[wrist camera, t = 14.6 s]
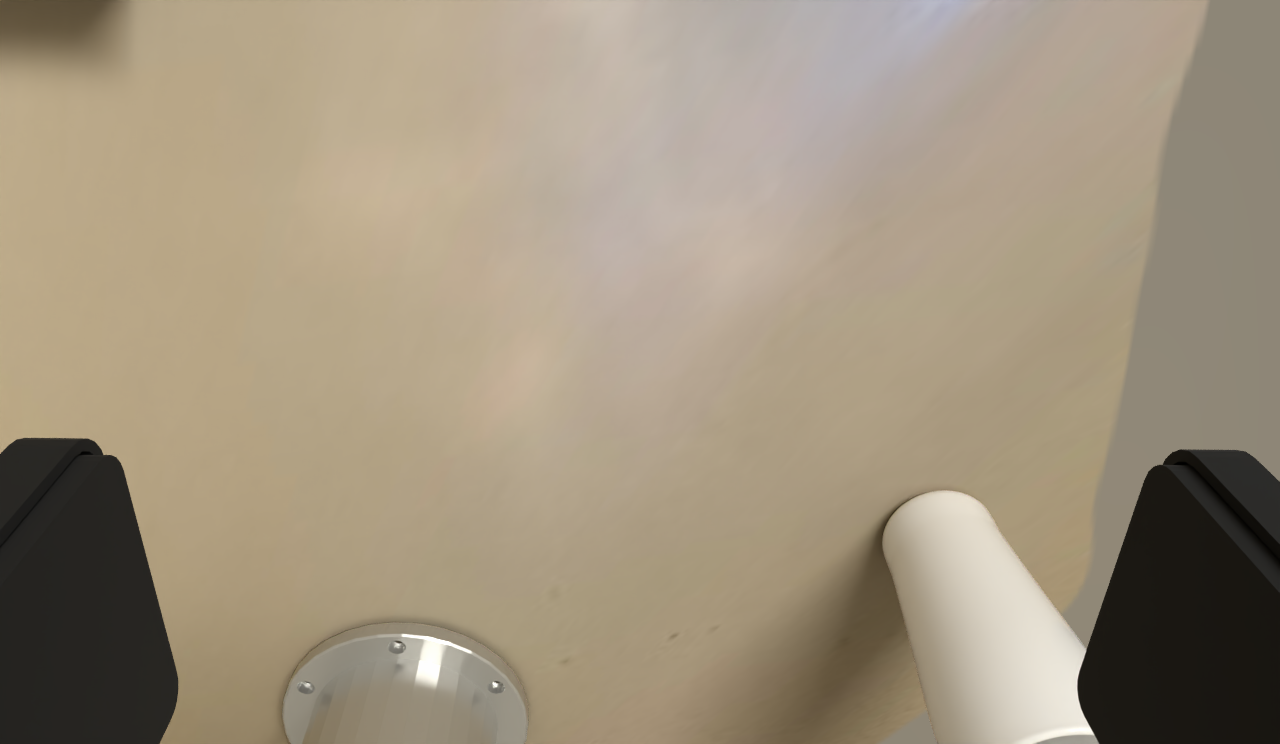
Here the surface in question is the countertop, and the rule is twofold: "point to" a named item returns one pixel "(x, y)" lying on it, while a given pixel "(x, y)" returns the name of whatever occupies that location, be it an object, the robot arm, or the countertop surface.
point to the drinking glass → (981, 629)
